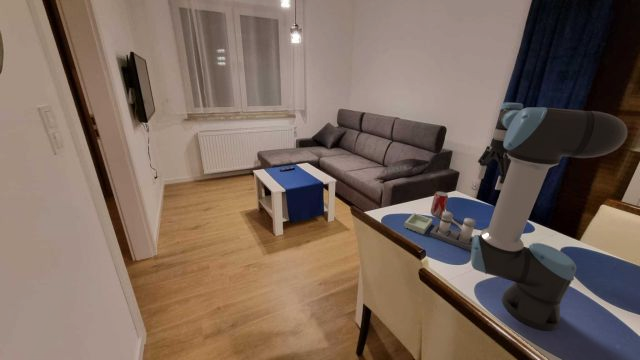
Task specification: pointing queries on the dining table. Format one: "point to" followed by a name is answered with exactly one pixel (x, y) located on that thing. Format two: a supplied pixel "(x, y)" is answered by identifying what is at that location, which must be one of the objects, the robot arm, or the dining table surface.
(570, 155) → the robot arm
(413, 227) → the tray
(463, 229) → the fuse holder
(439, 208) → the soda can
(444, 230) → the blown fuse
